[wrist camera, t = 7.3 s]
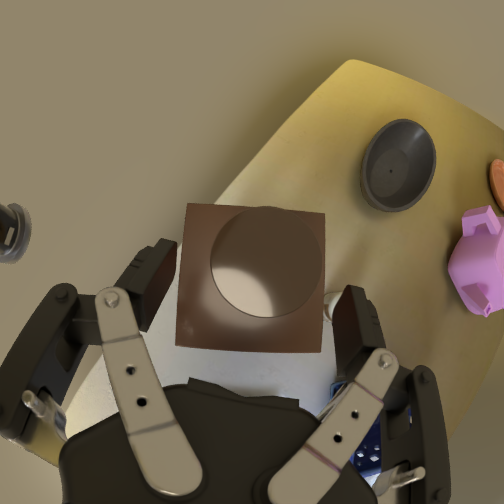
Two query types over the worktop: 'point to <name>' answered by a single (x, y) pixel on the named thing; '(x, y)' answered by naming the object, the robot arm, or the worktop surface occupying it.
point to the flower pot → (366, 443)
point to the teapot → (480, 261)
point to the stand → (226, 316)
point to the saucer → (497, 181)
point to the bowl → (398, 166)
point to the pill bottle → (330, 305)
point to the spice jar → (266, 262)
